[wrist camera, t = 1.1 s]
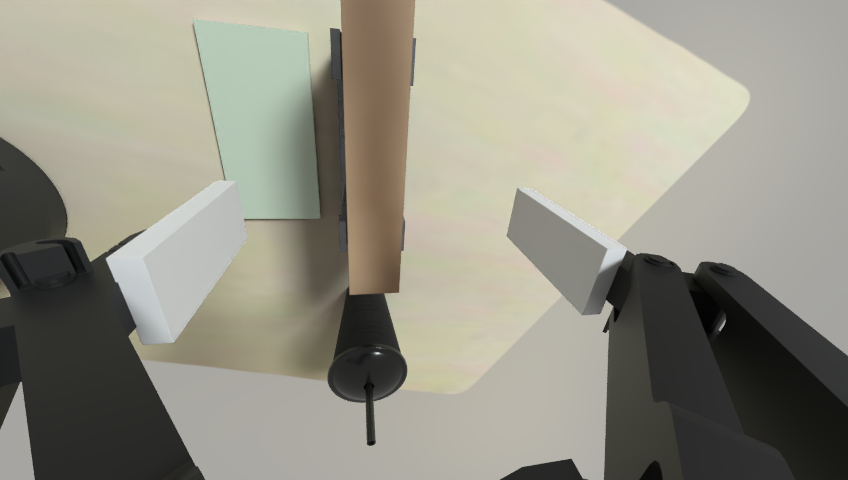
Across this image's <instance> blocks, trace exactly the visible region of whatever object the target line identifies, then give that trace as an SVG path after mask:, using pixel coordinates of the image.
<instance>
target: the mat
mask: <svg viewBox="0 0 848 480" xmlns="http://www.w3.org/2000/svg"><path fill="white" fill-rule="evenodd" d="M193 23H194V28H195V33H196V38H197V43H198V48H199V53H200V57H201V62H202V67H203V72H204V77H205V82H206V87H207V92H208V96H209V101H210V106H211V111H212V116H213V121H214V126H215V131H216V136H217V140H218V145H219V150H220V155H221V160H222V165H223V170H224V175H225V179H226V181H237V186H238V191H239V196H240V201H241V207H242V212H243V217H244V219H320V218H321V213H320V199H319V185H318V171H317V157H316V142H315V128H314V114H313V100H312V86H311V72H310V57H309V43H308V33H307V32H300V31H292V30H283V29H275V28H266V27H258V26H249V25H241V24H232V23H224V22H215V21H207V20H198V19H193Z"/></svg>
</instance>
